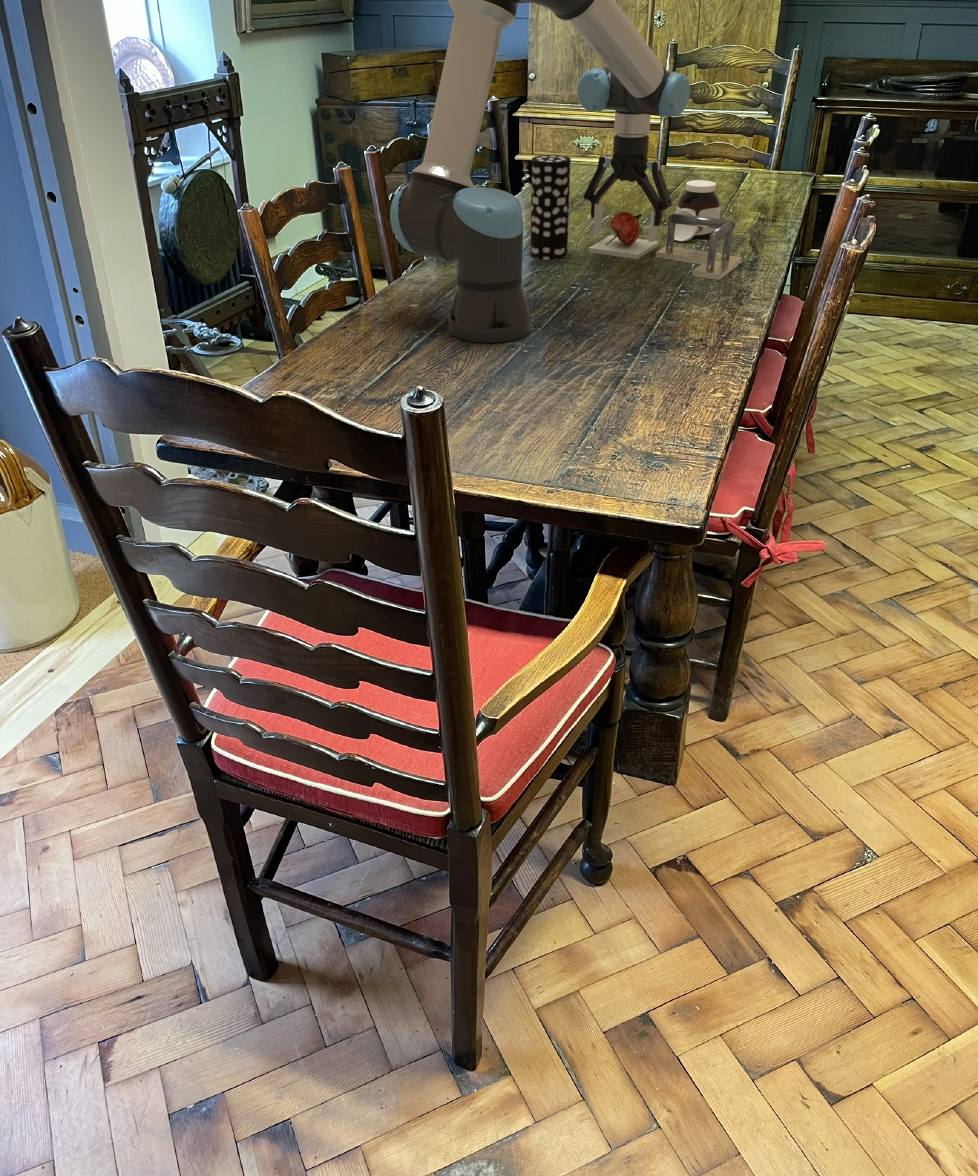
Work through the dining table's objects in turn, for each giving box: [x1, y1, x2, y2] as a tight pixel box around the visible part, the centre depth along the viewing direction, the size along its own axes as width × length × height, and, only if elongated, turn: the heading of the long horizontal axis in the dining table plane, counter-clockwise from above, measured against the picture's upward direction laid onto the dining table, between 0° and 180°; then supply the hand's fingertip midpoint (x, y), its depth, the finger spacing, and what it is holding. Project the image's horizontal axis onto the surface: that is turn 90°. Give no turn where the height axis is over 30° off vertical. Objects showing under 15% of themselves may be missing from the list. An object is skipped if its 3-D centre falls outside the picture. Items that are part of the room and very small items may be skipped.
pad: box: [588, 234, 660, 260], centre depth 213 cm, size 12×12×1 cm
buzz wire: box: [655, 212, 743, 281], centre depth 200 cm, size 15×18×9 cm
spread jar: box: [674, 179, 721, 243], centre depth 217 cm, size 12×11×12 cm
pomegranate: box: [606, 211, 643, 246], centre depth 211 cm, size 7×7×10 cm
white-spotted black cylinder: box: [530, 154, 572, 261], centre depth 204 cm, size 8×8×20 cm
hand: (624, 237), depth 211 cm, fingers open, 13 cm apart
